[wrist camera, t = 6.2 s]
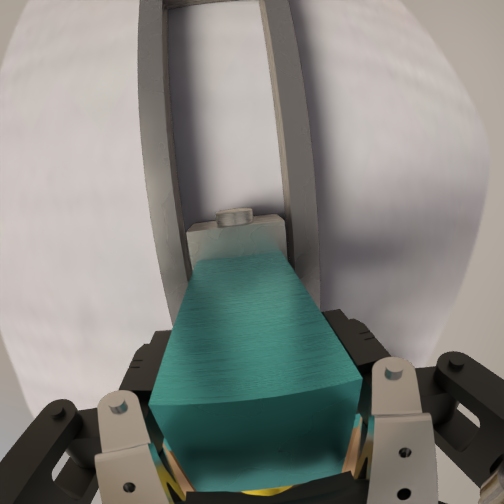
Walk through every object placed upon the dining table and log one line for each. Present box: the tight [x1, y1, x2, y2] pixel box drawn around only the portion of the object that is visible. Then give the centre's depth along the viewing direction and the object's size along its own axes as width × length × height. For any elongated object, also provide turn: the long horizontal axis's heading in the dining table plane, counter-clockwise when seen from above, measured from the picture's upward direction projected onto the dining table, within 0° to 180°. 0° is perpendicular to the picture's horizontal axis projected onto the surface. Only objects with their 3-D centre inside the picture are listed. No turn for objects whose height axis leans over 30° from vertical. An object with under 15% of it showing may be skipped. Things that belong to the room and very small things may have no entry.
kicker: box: [149, 208, 363, 492], centre depth 9 cm, size 8×8×10 cm
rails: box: [138, 0, 320, 326], centre depth 12 cm, size 24×7×2 cm, turn 6°
